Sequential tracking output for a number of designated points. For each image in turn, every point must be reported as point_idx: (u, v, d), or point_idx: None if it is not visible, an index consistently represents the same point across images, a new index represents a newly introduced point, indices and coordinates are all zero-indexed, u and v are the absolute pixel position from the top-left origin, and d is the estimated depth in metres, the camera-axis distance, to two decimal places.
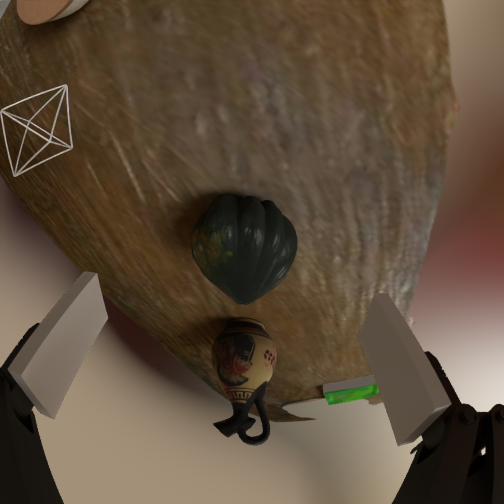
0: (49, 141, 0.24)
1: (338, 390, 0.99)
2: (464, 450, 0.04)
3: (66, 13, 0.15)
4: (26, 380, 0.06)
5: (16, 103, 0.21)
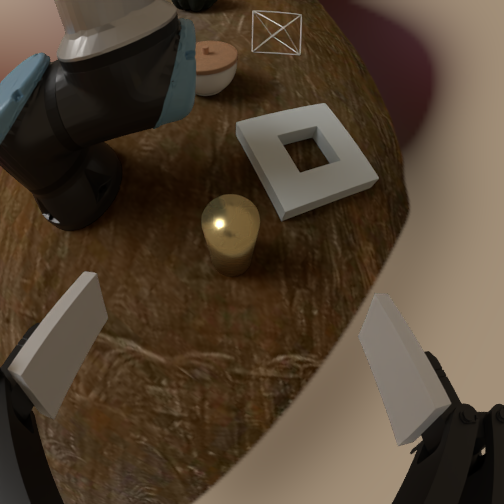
0: None
1: None
2: (464, 450, 0.04)
3: None
4: (26, 380, 0.06)
5: (275, 33, 0.41)
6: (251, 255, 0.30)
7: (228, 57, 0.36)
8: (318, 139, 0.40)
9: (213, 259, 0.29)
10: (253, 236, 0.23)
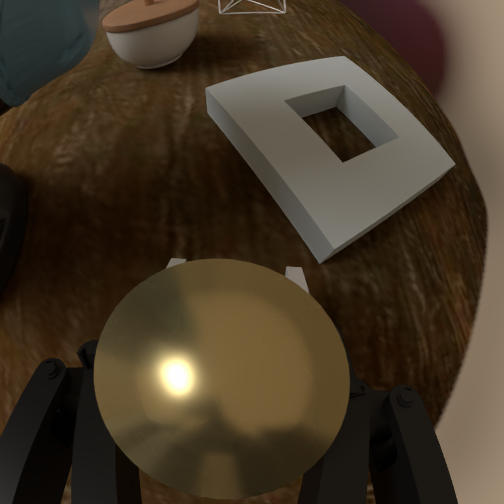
0: None
1: None
2: (356, 427, 0.06)
3: None
4: None
5: None
6: None
7: (183, 1, 0.18)
8: (349, 107, 0.22)
9: None
10: (329, 439, 0.04)
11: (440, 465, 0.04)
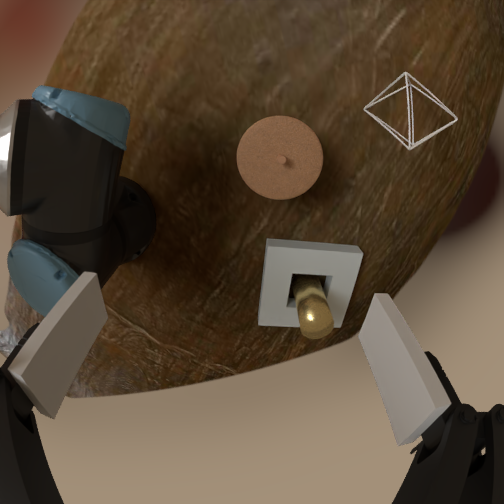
0: (405, 73, 0.25)
1: None
2: (464, 450, 0.04)
3: None
4: (26, 380, 0.06)
5: (398, 138, 0.31)
6: None
7: (301, 184, 0.33)
8: (328, 277, 0.47)
9: (295, 301, 0.45)
10: (322, 336, 0.39)
11: None
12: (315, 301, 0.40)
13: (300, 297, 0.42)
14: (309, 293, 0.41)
